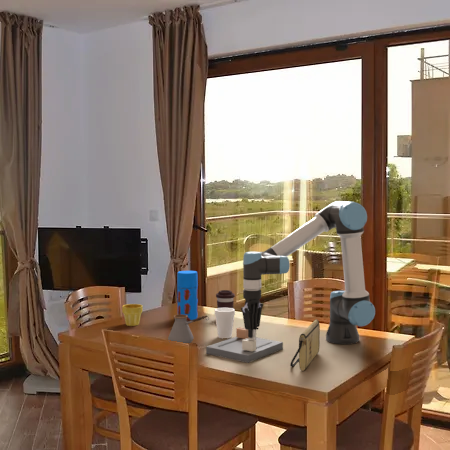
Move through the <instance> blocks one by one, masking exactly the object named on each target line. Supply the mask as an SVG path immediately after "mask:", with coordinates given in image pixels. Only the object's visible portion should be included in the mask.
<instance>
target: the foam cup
mask: <svg viewBox="0 0 450 450" xmlns="http://www.w3.org/2000/svg"><path fill="white" fill-rule="evenodd" d="M235 310H236V309H235V308H234V307H233V308H215V309H214V317H215V323H216V331H217V337H218V338H219V339H223V338H227V339H230V338H233V337H232V336H233V327H234V320H235V315H236V314H235V313H236V311H235Z"/></svg>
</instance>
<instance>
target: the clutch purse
mask: <svg viewBox="0 0 450 450" xmlns="http://www.w3.org/2000/svg"><path fill="white" fill-rule="evenodd" d="M320 329H321V327H320V321H319V319H317V318H316V319H314V321H313V322H312V323H311V324H310V325H309V326H307V328H306V329H305V330H304V331H303V332H302V333H301V334H300V335H299V338H298V348H297V350H296V353H295V354H294V356H293V357H292V359H291V361H290V363H289V364H290V365H289V366H290V367H294V366H296V365H297V363H298V364H299V370H300V371H302V372H304V371H306V369H307V368H308V366H309V364H310V363H312V361H313V359H314V358H315V357H316V356H317V355H318V354H319V351H320V331H321V330H320ZM297 357H298V359H296V358H297ZM295 360H296V361H295ZM294 361H295V362H294Z"/></svg>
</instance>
